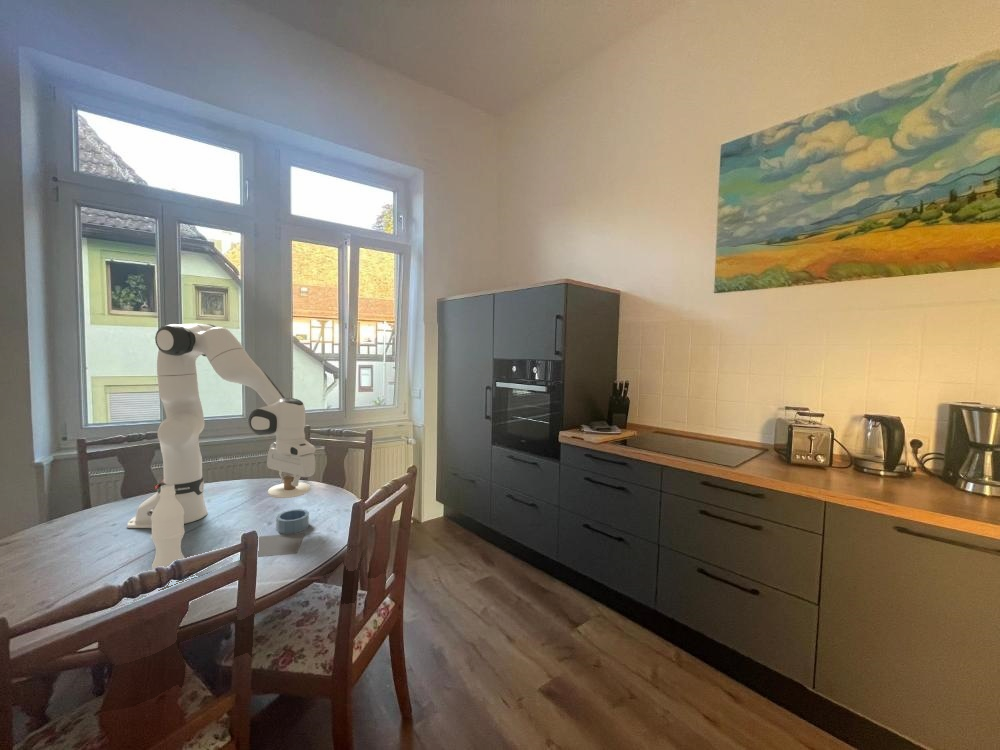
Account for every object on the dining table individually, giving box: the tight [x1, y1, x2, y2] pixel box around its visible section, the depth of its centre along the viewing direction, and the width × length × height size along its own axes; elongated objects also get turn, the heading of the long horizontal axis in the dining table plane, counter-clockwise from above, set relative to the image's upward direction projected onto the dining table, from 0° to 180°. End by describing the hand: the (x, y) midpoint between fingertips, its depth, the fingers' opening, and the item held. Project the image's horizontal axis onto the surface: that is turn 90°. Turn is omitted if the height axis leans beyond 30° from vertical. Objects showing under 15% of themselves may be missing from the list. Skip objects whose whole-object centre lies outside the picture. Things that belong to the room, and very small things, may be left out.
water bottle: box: [150, 484, 186, 570], centre depth 112 cm, size 7×7×25 cm
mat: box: [257, 532, 306, 558], centre depth 130 cm, size 14×14×1 cm
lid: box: [267, 474, 311, 499], centre depth 139 cm, size 13×13×5 cm
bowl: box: [275, 508, 310, 535], centre depth 142 cm, size 10×10×5 cm
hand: (289, 484), depth 139 cm, fingers closed on lid, 4 cm apart
